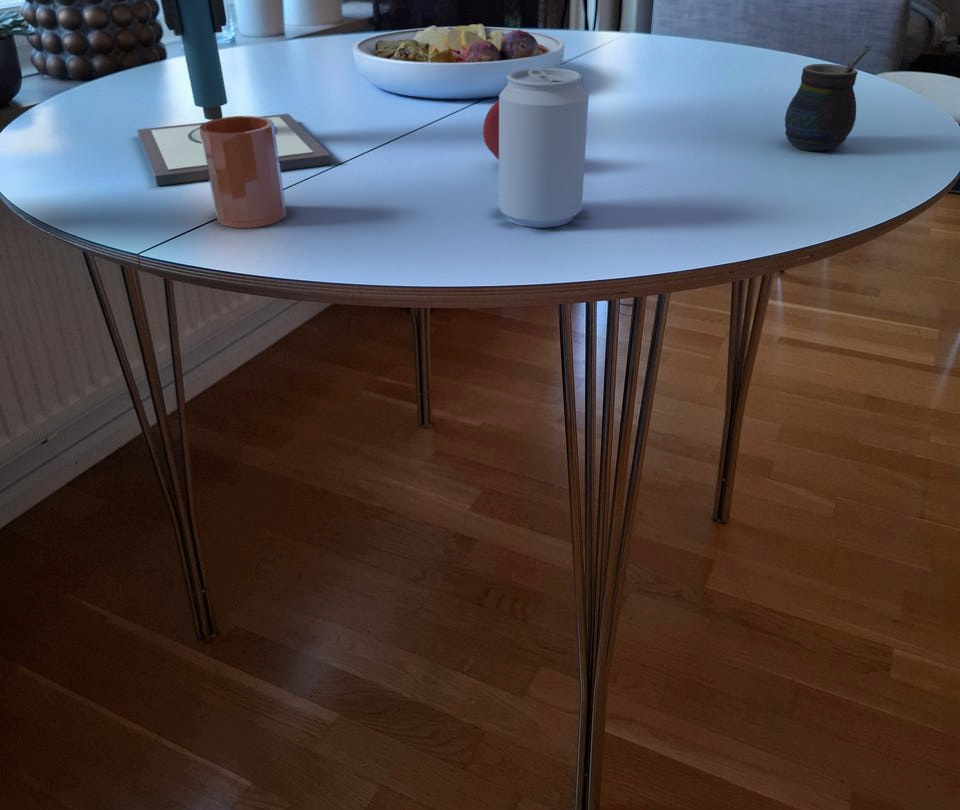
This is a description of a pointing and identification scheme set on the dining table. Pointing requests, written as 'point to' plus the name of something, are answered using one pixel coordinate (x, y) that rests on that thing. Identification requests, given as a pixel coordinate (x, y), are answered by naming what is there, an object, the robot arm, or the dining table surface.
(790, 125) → the mate gourd
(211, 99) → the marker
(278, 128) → the picture frame
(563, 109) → the can
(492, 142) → the onion
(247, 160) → the pen cup
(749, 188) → the dining table surface
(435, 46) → the bowl
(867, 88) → the dining table surface
